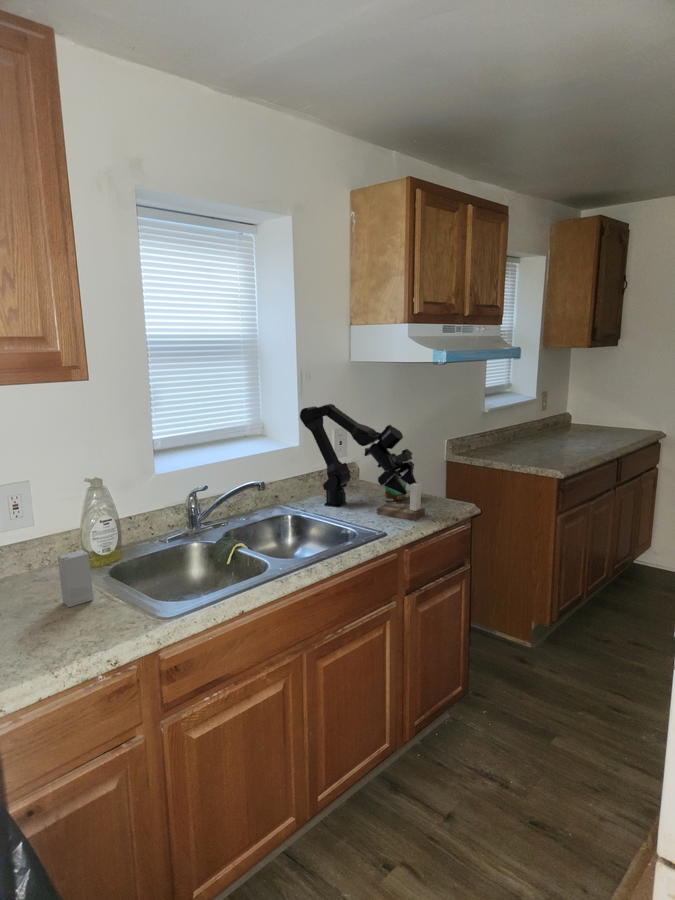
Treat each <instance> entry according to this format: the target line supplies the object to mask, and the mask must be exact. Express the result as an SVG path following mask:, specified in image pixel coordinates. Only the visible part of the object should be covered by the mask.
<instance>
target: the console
mask: <svg viewBox="0 0 675 900" xmlns="http://www.w3.org/2000/svg"><path fill="white" fill-rule="evenodd" d="M382 515H383V517H389V518H395V519H402V520H408V521H414V522H416V521H418V520H419V519H421V518H423V517H424V516H426V508H425V507H420V509H419V510H417V511H414V510H410V505H405V504H399V503H388V502H385V503H384V504H382V505H380V506H378V507H377V508H376V516H382Z"/></svg>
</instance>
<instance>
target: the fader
mask: <svg viewBox="0 0 675 900" xmlns="http://www.w3.org/2000/svg"><path fill="white" fill-rule="evenodd" d="M421 488H422V484H421V483H418V482H416V483H413V484H411V485H409V489H410V490H409V506H410V510H414V511H417V510H419V509H420V508H421V499H422V497H421V495H422V493H421V492H422V489H421Z"/></svg>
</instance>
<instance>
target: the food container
mask: <svg viewBox="0 0 675 900" xmlns="http://www.w3.org/2000/svg"><path fill="white" fill-rule="evenodd" d="M398 478H399V481H400V482H401V484H402V485H403V487H404V488H405V490H406V491H407V483H406V482H405V481H403V480H402V479H400V478H401V477H400V476H398ZM385 484H386V483H385ZM385 484H384V485H385ZM384 491H385V492H384V494H385V503H388V502H400V503H403V502H405V501H404V500H406V495H404V494H402V493H400V492H398V491H396V490H394V489H391V488H389V487H387V486H384ZM402 501H403V502H402Z"/></svg>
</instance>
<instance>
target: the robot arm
mask: <svg viewBox="0 0 675 900" xmlns="http://www.w3.org/2000/svg"><path fill="white" fill-rule="evenodd" d="M324 417H327V418H329V419H331V420H332V421H333V422H334V423H336V424H337V425H338V426H340V427H342V429H344V430H346V432H348V433H349V434H350V435H351V437H352V439H353V440H354V441H355V442H356V443H357V444H358V445H359V446H361V447H366V446H368V445H370V446H369V447H366V448H364V457H367V456H370V455H371V456H372V458H373V459H374V460H375V461H376V462H377V465H376V466H377V467H378V469H379V468H382V470H383V472H382V473H381V474H380V475H379V476H378V477H377V482H378V483H379V485H380V486H384V487H385V486H387V487H389V488H391V489H394V490H396V491H398V492H400V493H402V494H404V495H405V496H406V495H407V493H408V492H407V489H406V490H405V488H404V487H403V485H402V484H401V482H400V481H399V478H398V476H400V477H401V478H400V479H402V480H403V481H405V482H406V484H408V485H409V486H410V485H411V484H413V483H417V480H416V478H415V475H414V469H415V463H413V461H411V460H413V457H412V455H413V452H411V450H410V449H408V448H406V449H403V450H402V451H401V453H400V454H396V453H393V452H392V453H391V452H390V451H389V450H392V449H394V448H395V446H397V444H398V443H400V442H401V440H403V439H404V436H403V434H402V432H401V431H400V430H399V429H397V428H396V427H394V426H392V425H391V424H388V425H386V427H385V429H383V431H382V432H378V431H376V430H375V429H374V428H372V427H369V426H368V425H366V424H362V423H359V422H357V421H355V420H354V419H353V418H352V417H350V416H349V415H347V414H346V413H344V412H343V411H342V410H341V409H339V408H338V407H336V406H335V404H333V403H327V404H323V405H322V406H309V407H305V408H302V409H301V410H300V412H299V420H300V421H301V422H302V424H303V426H304V427H306V428H307V430H308V431H310V433H311V434H312V435H313V436H312V437H313V439H314V440H315V443H316V445H317V447H318V449H319V452H320V454H321V456H322V458H323V460H324V462H325V465H326V476H327V479H326V481H325V482H323V484H322V487H323V489H324V491H325V492H326V493H325V494H326V496H325V499H326V501H325V503H324V506H328V507H329V506H330V507H336V508H339V507H342V506H344V505H345V504H347V501H346V500H347V499H346V498H347V497H346V496H347V495H346V492H345V488H346V487H347V485H348V483H349V482H350V481H351V470H350V469H349V466H348V464H347V463H346V462H344V463H342V462H341V461H340V460H339V458H338V455H337V454H336V451H335V449H334V447H333V445H332V443H331V441H330V439H329V437H328V435H327V432H326V430H325V427H324ZM376 441H377V442H376ZM385 483H386V484H385Z"/></svg>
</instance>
